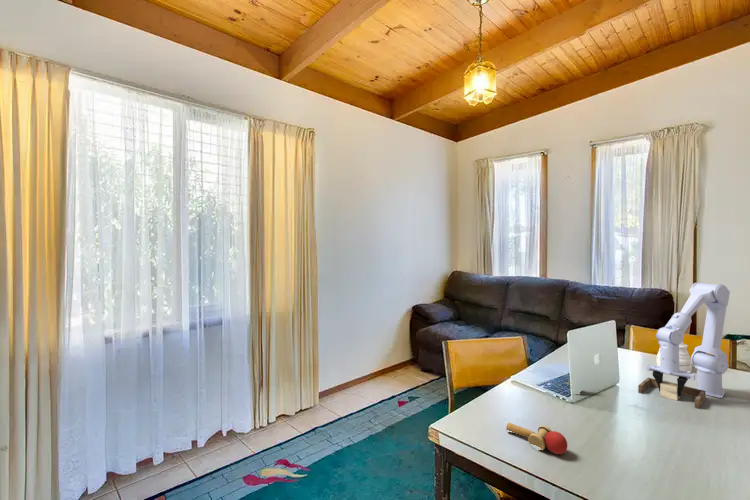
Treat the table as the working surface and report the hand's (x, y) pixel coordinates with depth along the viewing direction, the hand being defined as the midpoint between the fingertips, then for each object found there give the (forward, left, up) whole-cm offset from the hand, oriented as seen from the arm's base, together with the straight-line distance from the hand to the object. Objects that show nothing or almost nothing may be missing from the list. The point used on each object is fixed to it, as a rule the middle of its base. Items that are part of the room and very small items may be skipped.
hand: (670, 393), depth 136 cm
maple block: (0, 0, -1) cm, 1 cm away
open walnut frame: (-1, 0, -1) cm, 2 cm away
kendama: (+72, -17, -2) cm, 74 cm away
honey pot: (-41, -7, -2) cm, 42 cm away
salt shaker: (+24, -26, -2) cm, 35 cm away
